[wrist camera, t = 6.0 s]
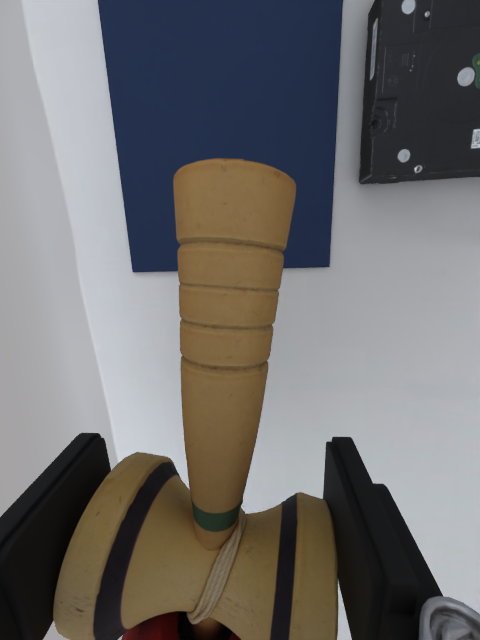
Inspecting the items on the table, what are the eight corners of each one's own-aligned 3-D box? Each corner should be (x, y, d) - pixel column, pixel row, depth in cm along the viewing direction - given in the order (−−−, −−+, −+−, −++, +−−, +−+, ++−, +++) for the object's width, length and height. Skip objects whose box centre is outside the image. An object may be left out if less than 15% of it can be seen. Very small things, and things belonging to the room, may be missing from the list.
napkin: (95, -37, 18) (92, -41, 18) (344, -65, 17) (346, -70, 17) (134, 271, 23) (132, 272, 23) (328, 266, 22) (329, 266, 22)
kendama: (110, 204, 10) (114, 630, 12) (-62, 71, 3) (19, 993, 6) (319, 222, 11) (284, 613, 13) (477, 144, 4) (353, 910, 7)
